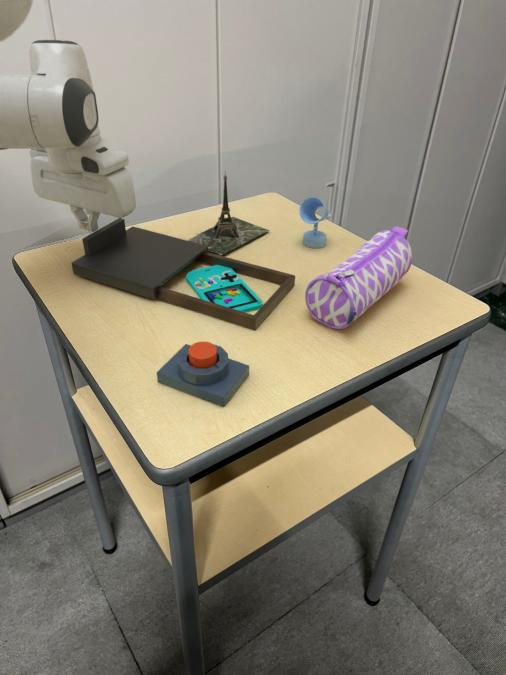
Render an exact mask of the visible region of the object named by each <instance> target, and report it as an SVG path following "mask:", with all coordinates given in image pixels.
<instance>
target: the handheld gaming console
mask: <svg viewBox="0 0 506 675" xmlns="http://www.w3.org/2000/svg"><path fill="white" fill-rule="evenodd" d="M185 277H186V282H187V284H188V285H189V287H190V288H191V289H192V290H193V291H194V293H195V294H196V295H197V296H198V298H199V299H202V300H206V301H209V302H212V303H215V304H219V305H222V306H225V307H229V308H232V309H235V310H239V311H242V312H245V313H249V312H253V311H258V310H259V309H260V308H261V307H262V306H263V300H262V299H261V298H260V297H259V296H258V295H257V294H256V292H254V291H253V289H252V288H251V287H250V286H249V285H248V284H247V283H246V282H245V281H244V280H243V279H242V278H241V277H240V276H239V274H238V273H236V272H234V271H233V270H232V268H228V267H224V266H221V265H214V266H210V265H208V266H204V267H201V268H197V269H193V270H190V271H189V272H188V273H187V274H186V276H185Z"/></svg>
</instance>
